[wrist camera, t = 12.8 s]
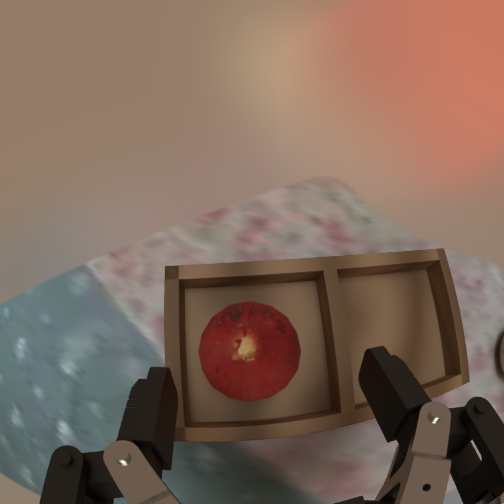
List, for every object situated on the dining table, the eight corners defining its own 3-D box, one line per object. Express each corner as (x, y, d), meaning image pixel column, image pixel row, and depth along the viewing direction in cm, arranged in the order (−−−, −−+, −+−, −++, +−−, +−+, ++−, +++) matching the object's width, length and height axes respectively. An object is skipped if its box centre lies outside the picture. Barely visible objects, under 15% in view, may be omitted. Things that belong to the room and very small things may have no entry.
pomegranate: (206, 323, 20) (171, 293, 13) (284, 308, 20) (293, 268, 13) (220, 401, 18) (190, 418, 10) (301, 385, 18) (324, 394, 10)
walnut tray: (180, 432, 17) (171, 440, 14) (174, 280, 22) (165, 266, 19) (448, 383, 18) (469, 381, 16) (426, 261, 23) (443, 248, 21)
